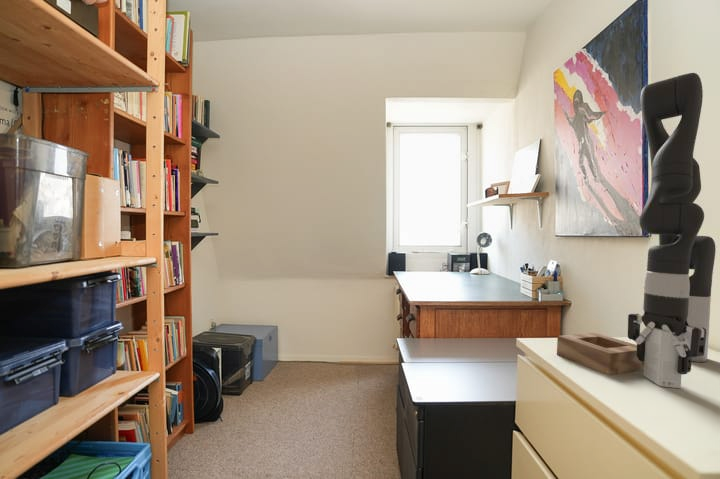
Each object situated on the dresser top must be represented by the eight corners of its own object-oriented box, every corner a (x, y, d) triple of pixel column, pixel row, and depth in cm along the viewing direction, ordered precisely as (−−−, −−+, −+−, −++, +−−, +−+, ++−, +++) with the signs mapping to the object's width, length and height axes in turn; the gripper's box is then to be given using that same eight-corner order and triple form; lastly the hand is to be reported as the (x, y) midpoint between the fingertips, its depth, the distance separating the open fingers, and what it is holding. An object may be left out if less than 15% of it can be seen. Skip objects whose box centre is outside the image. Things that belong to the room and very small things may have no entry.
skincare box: (681, 389, 75) (685, 333, 75) (658, 386, 76) (662, 331, 76) (663, 377, 81) (666, 326, 81) (642, 375, 82) (645, 324, 82)
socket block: (594, 350, 99) (594, 332, 99) (649, 369, 86) (650, 348, 86) (556, 354, 95) (557, 335, 94) (609, 374, 81) (610, 353, 81)
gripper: (718, 298, 72) (713, 378, 73) (642, 287, 86) (638, 354, 86) (695, 299, 70) (690, 382, 70) (620, 288, 83) (617, 357, 84)
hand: (661, 366), depth 78 cm, fingers closed on skincare box, 7 cm apart
